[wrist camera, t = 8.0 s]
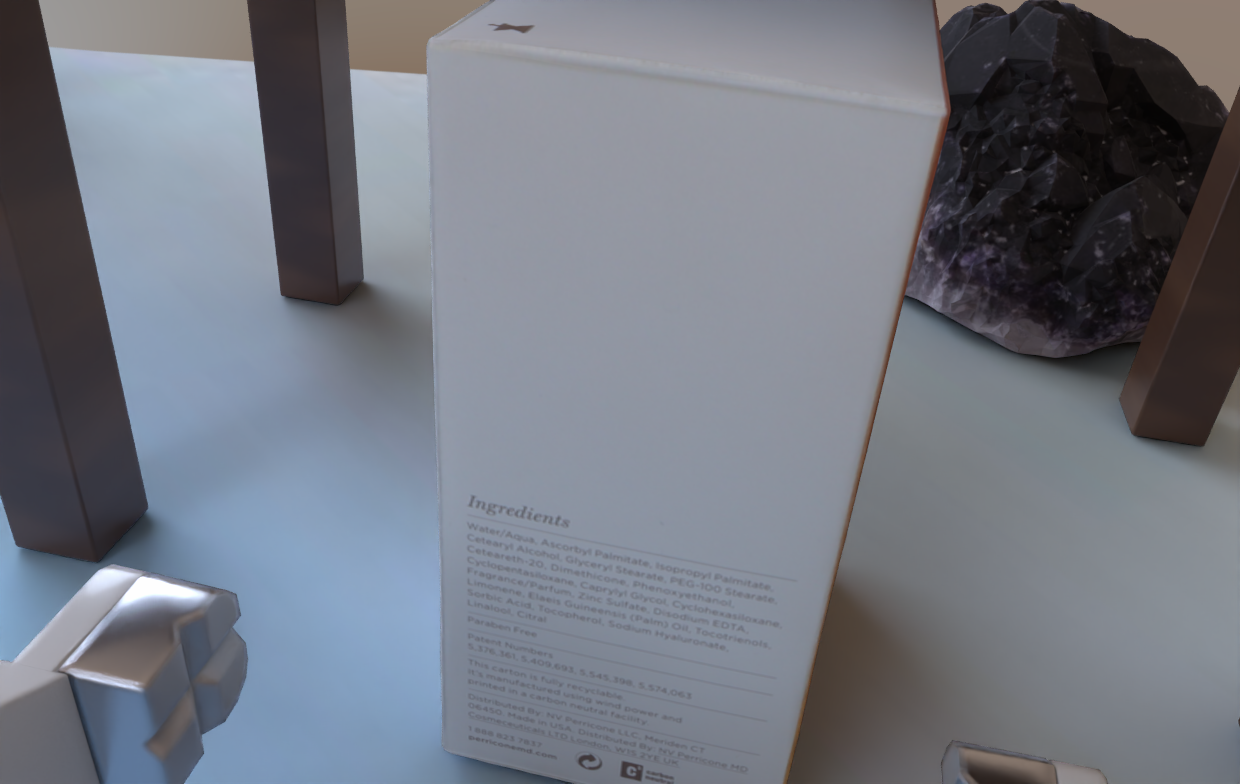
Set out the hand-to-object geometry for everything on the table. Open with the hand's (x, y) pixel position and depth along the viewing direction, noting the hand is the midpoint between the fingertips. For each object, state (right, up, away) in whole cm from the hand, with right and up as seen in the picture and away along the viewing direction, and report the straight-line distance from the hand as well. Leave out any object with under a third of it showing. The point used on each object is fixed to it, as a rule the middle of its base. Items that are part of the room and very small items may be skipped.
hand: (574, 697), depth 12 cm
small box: (+1, -2, +10) cm, 11 cm away
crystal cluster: (+16, +7, +27) cm, 32 cm away
